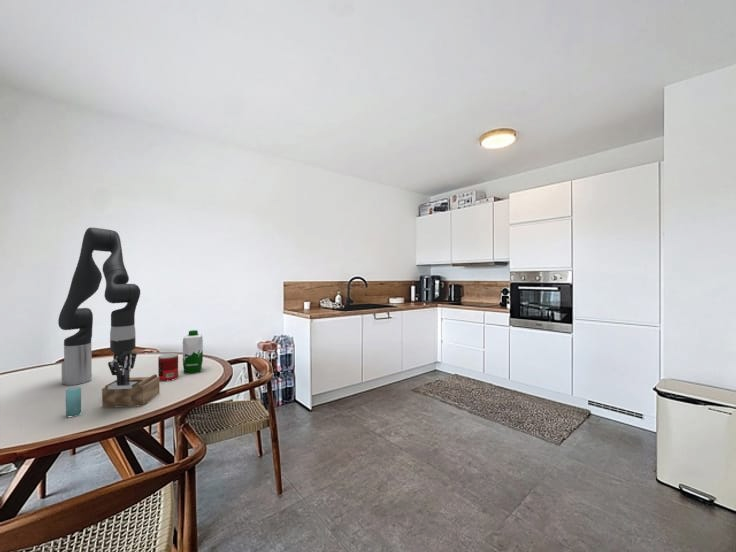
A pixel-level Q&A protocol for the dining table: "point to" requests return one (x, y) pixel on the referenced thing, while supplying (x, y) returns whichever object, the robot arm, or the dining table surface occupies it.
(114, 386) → the latch bar
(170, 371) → the canned food
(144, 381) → the socket block
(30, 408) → the dining table surface
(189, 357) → the milk carton
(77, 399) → the dowel
